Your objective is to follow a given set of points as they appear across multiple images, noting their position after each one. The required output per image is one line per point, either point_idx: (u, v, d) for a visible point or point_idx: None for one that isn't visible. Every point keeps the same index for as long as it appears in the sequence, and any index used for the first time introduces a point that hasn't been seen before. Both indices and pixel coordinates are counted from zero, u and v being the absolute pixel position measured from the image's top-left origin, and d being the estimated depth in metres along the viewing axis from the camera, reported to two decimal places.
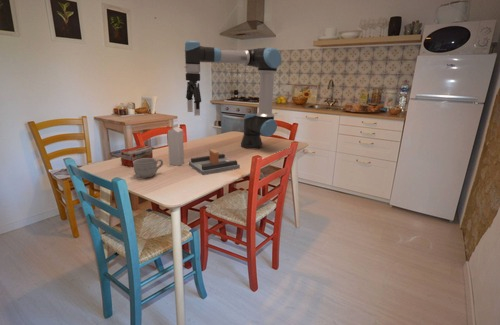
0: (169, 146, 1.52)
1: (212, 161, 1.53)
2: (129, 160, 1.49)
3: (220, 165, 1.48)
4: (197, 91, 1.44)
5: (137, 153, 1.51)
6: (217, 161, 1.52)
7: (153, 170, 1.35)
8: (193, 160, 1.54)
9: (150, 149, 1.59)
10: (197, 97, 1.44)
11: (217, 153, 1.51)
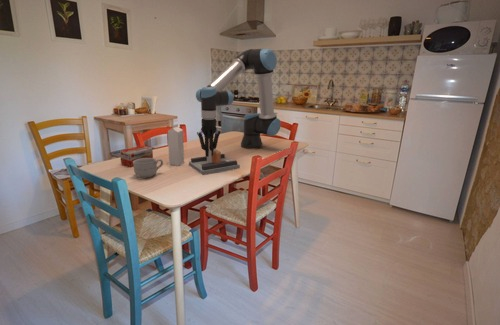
0: (169, 146, 1.52)
1: (214, 161, 1.54)
2: (128, 160, 1.48)
3: (220, 165, 1.48)
4: (200, 140, 1.46)
5: (136, 153, 1.50)
6: (219, 161, 1.53)
7: (153, 170, 1.35)
8: (193, 160, 1.54)
9: (150, 149, 1.58)
10: (201, 146, 1.48)
11: (219, 153, 1.51)
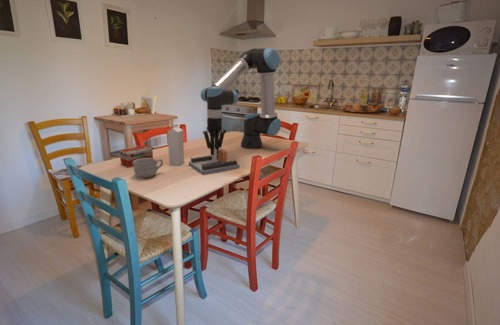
0: (169, 146, 1.52)
1: (220, 160, 1.56)
2: (127, 160, 1.48)
3: (220, 165, 1.48)
4: (206, 139, 1.48)
5: (135, 153, 1.50)
6: (225, 160, 1.55)
7: (153, 170, 1.35)
8: (193, 160, 1.54)
9: (150, 150, 1.57)
10: (207, 144, 1.50)
11: (225, 152, 1.53)
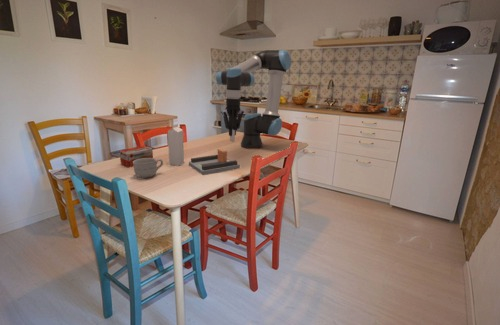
0: (169, 146, 1.52)
1: (220, 160, 1.56)
2: (126, 160, 1.48)
3: (220, 165, 1.48)
4: (225, 120, 1.51)
5: (135, 153, 1.50)
6: (225, 160, 1.55)
7: (153, 170, 1.35)
8: (193, 160, 1.54)
9: (150, 150, 1.57)
10: (225, 125, 1.53)
11: (225, 152, 1.53)
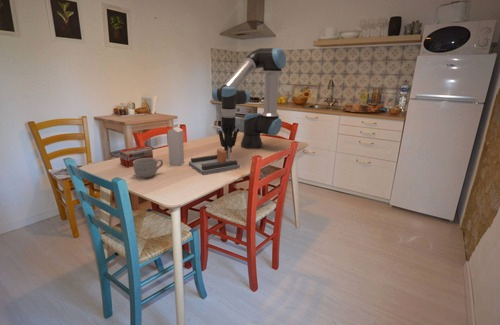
0: (169, 146, 1.52)
1: (220, 160, 1.56)
2: (126, 160, 1.48)
3: (220, 165, 1.48)
4: (220, 138, 1.53)
5: (134, 153, 1.50)
6: (225, 160, 1.55)
7: (153, 170, 1.35)
8: (193, 160, 1.54)
9: (150, 150, 1.57)
10: (221, 143, 1.54)
11: (225, 152, 1.53)
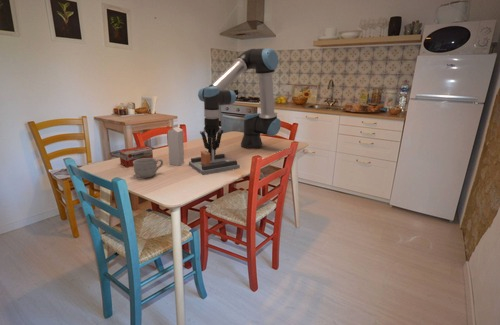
0: (169, 146, 1.52)
1: (203, 162, 1.50)
2: (125, 160, 1.48)
3: (220, 165, 1.48)
4: (203, 140, 1.47)
5: (134, 154, 1.50)
6: (208, 162, 1.49)
7: (153, 170, 1.35)
8: (193, 160, 1.54)
9: (150, 150, 1.56)
10: (204, 145, 1.49)
11: (208, 154, 1.48)
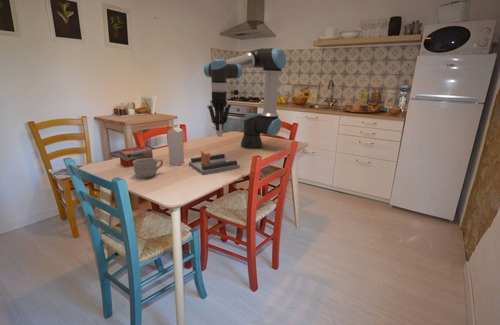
0: (169, 146, 1.52)
1: (204, 162, 1.51)
2: (124, 160, 1.48)
3: (220, 165, 1.48)
4: (211, 114, 1.46)
5: (133, 154, 1.49)
6: (209, 162, 1.49)
7: (153, 170, 1.35)
8: (193, 160, 1.54)
9: (149, 151, 1.56)
10: (212, 119, 1.48)
11: (208, 154, 1.48)
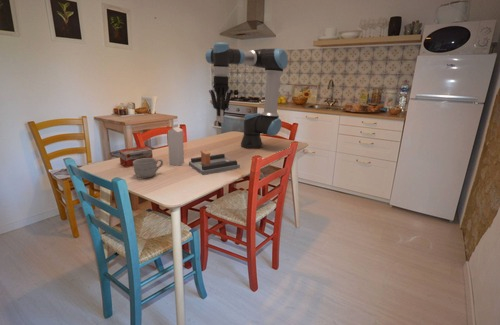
0: (169, 146, 1.52)
1: (204, 162, 1.51)
2: (124, 160, 1.48)
3: (220, 165, 1.48)
4: (212, 99, 1.44)
5: (132, 154, 1.49)
6: (209, 162, 1.49)
7: (153, 170, 1.35)
8: (193, 160, 1.54)
9: (149, 151, 1.55)
10: (213, 104, 1.45)
11: (208, 154, 1.48)
